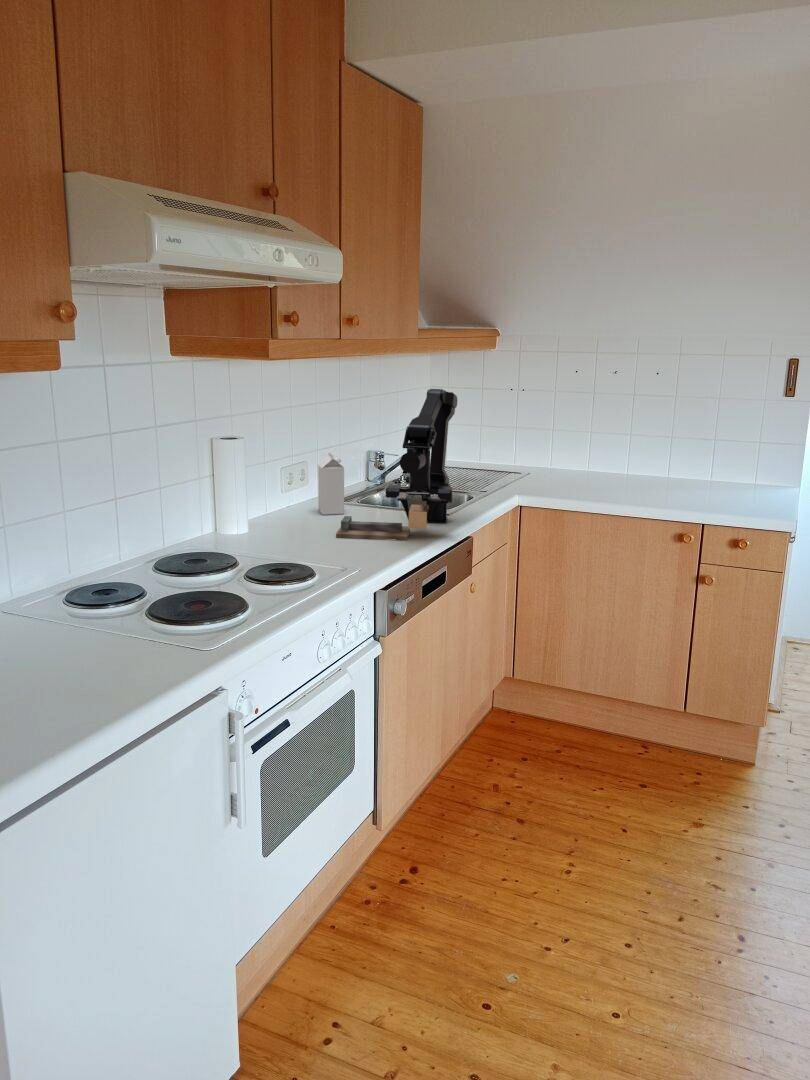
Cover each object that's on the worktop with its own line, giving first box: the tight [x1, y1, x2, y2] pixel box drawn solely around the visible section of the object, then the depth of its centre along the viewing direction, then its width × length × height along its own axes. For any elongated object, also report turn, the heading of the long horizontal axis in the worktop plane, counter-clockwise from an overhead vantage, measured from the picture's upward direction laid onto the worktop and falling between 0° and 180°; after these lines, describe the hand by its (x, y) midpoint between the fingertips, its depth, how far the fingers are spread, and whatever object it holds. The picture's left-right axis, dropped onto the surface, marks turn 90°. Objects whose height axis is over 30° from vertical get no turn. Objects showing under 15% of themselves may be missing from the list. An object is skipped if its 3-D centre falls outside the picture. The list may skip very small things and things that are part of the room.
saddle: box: [408, 503, 429, 530], centre depth 239 cm, size 5×9×5 cm, turn 175°
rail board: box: [335, 515, 411, 541], centre depth 241 cm, size 20×12×4 cm, turn 85°
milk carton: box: [317, 451, 345, 516], centre depth 266 cm, size 7×7×19 cm
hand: (418, 521), depth 240 cm, fingers closed on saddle, 5 cm apart
